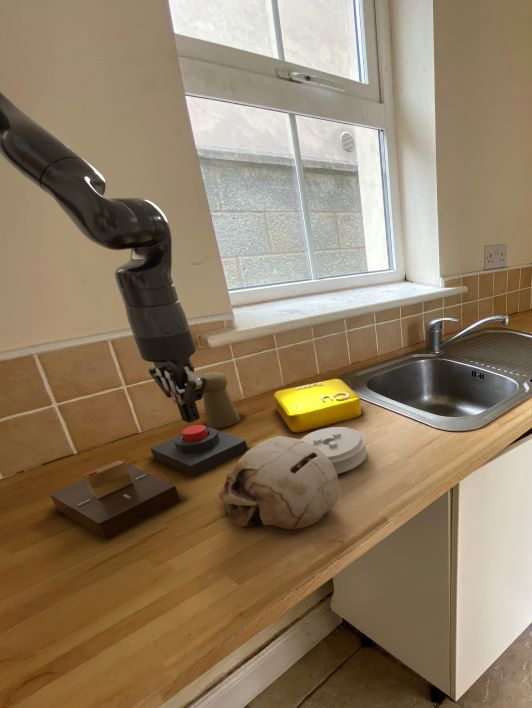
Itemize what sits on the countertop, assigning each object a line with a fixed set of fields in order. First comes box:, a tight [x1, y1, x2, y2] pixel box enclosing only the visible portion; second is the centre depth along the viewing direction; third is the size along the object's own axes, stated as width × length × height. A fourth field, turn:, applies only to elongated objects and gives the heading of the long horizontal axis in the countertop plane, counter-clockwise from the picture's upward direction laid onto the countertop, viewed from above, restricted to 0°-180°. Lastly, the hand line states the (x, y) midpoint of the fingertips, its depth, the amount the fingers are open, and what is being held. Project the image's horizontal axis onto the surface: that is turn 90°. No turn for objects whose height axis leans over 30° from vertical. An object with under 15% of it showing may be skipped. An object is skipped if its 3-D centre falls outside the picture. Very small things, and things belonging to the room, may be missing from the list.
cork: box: [197, 371, 241, 429], centre depth 94 cm, size 6×6×11 cm
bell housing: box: [150, 425, 249, 477], centre depth 84 cm, size 12×10×4 cm
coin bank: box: [218, 435, 340, 531], centre depth 69 cm, size 16×17×13 cm
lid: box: [300, 426, 368, 475], centre depth 84 cm, size 13×13×5 cm
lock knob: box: [82, 459, 133, 499], centre depth 69 cm, size 5×1×4 cm, turn 155°
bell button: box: [181, 424, 208, 442], centre depth 83 cm, size 4×4×2 cm
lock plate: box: [49, 462, 181, 540], centre depth 71 cm, size 14×10×3 cm
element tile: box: [273, 378, 362, 433], centre depth 101 cm, size 15×15×5 cm
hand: (191, 420), depth 82 cm, fingers closed
